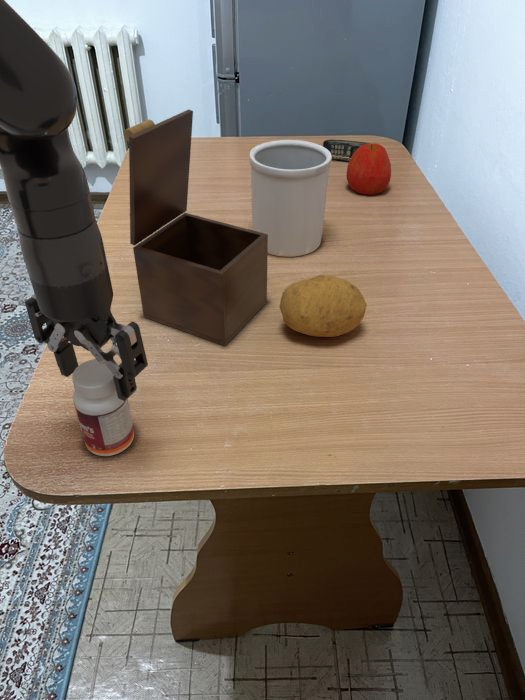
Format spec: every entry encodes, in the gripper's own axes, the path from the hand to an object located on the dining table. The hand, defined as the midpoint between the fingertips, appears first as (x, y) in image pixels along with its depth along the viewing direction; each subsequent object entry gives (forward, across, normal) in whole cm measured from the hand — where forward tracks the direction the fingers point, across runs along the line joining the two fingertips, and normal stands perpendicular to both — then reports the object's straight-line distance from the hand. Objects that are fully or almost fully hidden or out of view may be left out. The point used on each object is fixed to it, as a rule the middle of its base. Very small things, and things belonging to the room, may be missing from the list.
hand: (98, 383), depth 66 cm
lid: (-12, +11, -30) cm, 34 cm away
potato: (+10, -14, -34) cm, 38 cm away
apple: (+11, -2, -90) cm, 90 cm away
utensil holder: (+10, +4, -58) cm, 59 cm away
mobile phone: (+11, +8, -105) cm, 105 cm away
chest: (+10, +5, -30) cm, 32 cm away
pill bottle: (+10, 0, 0) cm, 10 cm away
